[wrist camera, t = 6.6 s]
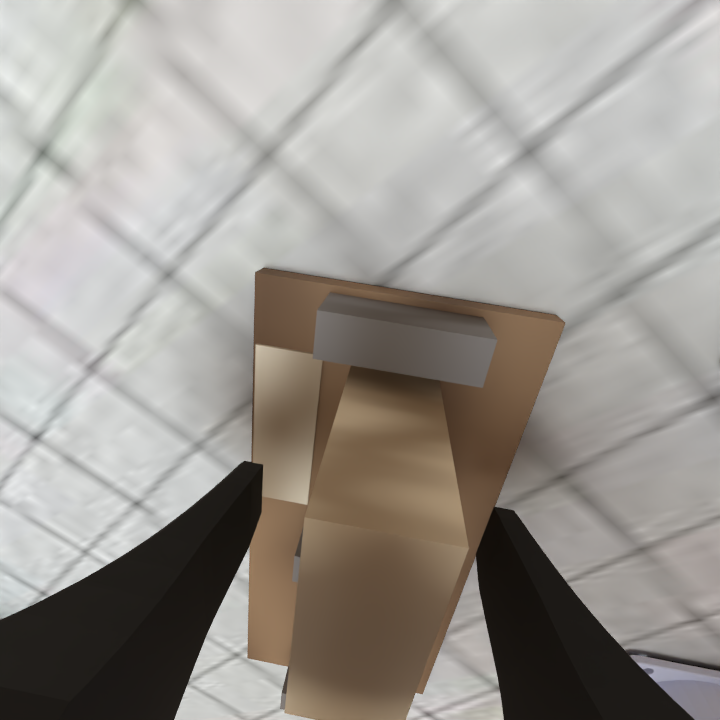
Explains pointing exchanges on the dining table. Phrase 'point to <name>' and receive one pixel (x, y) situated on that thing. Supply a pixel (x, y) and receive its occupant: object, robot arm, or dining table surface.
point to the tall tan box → (376, 552)
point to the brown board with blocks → (323, 394)
